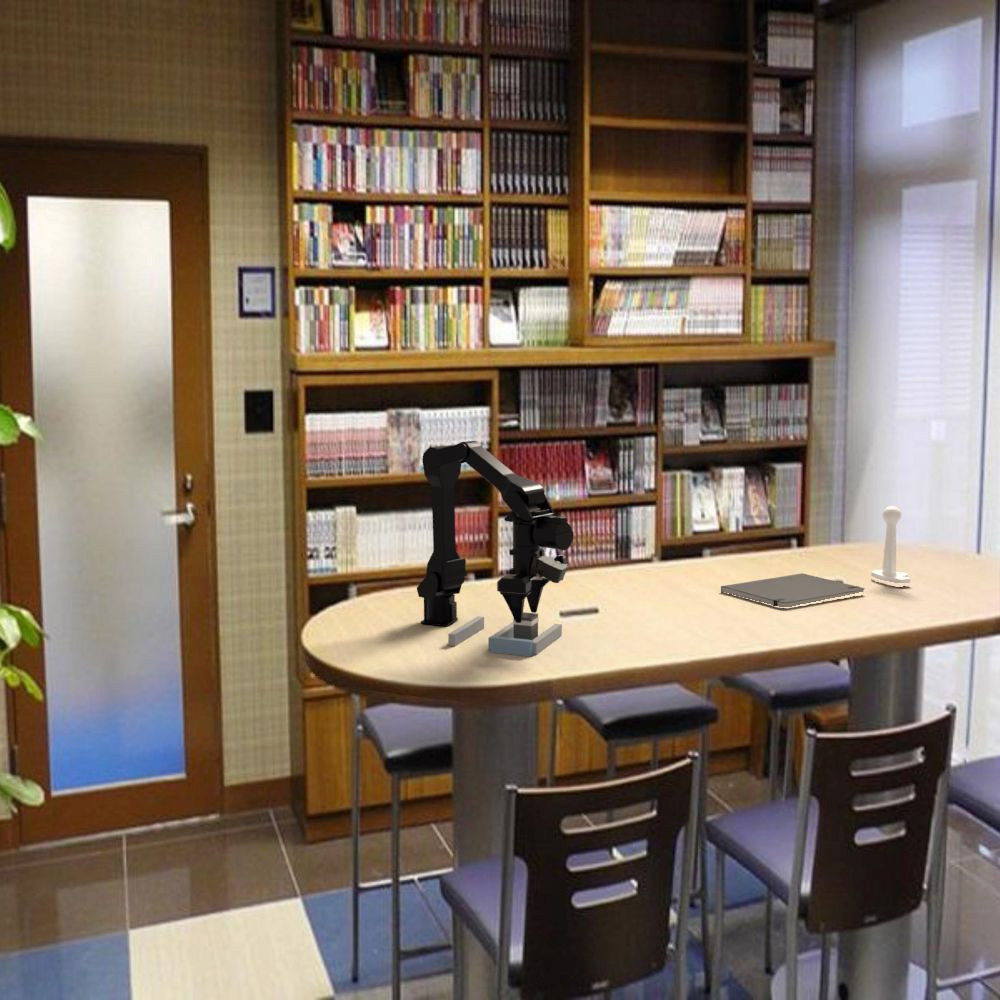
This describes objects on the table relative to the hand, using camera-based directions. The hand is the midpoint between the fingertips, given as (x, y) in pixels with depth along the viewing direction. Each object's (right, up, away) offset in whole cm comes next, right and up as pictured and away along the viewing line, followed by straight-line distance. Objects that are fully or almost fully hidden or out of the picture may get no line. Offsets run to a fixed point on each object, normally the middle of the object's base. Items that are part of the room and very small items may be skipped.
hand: (526, 617), depth 256 cm
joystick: (+95, +3, +57) cm, 111 cm away
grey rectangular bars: (-4, -5, +2) cm, 7 cm away
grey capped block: (0, -5, +1) cm, 6 cm away
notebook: (+67, +1, +45) cm, 81 cm away
